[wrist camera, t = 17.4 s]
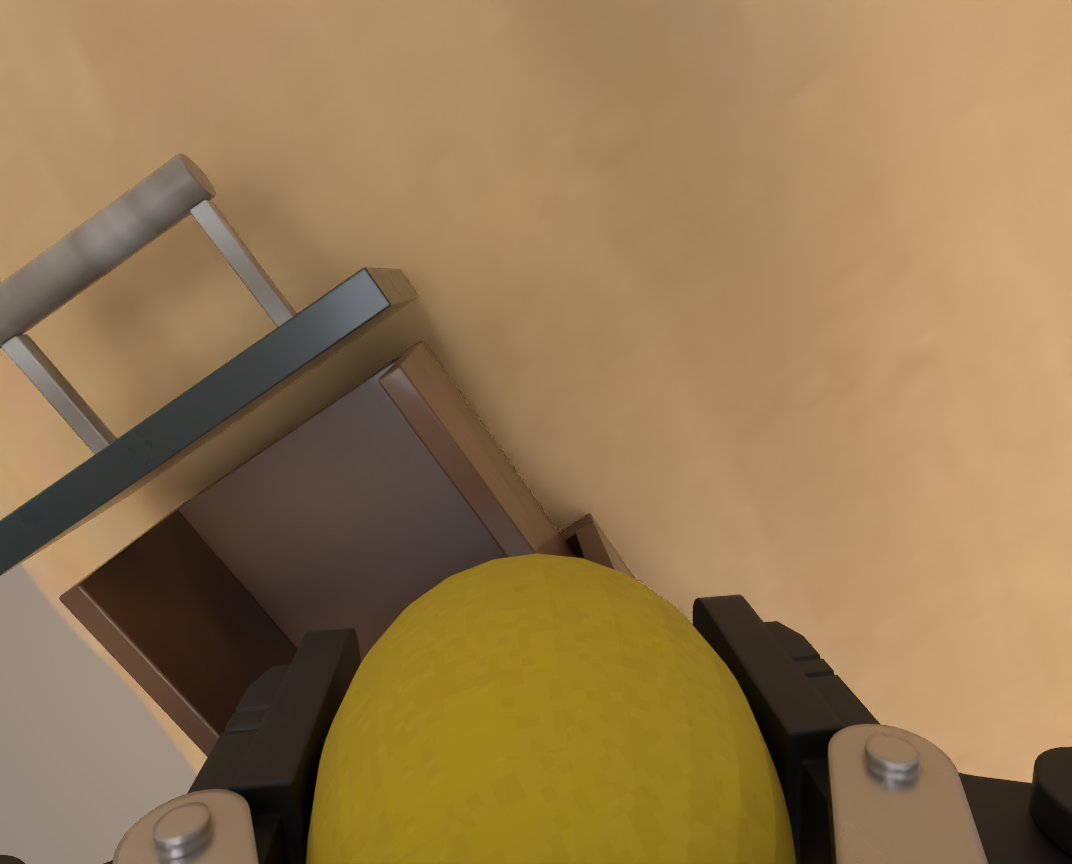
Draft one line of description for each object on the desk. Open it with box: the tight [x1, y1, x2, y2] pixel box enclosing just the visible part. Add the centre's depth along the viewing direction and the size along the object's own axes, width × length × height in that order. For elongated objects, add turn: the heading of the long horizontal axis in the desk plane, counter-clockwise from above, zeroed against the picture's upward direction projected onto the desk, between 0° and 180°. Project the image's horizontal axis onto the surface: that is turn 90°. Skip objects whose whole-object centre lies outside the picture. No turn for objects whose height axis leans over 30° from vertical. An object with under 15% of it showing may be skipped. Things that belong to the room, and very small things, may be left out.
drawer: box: [0, 153, 576, 757], centre depth 23 cm, size 21×14×8 cm, turn 34°
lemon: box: [306, 554, 796, 864], centre depth 9 cm, size 6×6×8 cm
